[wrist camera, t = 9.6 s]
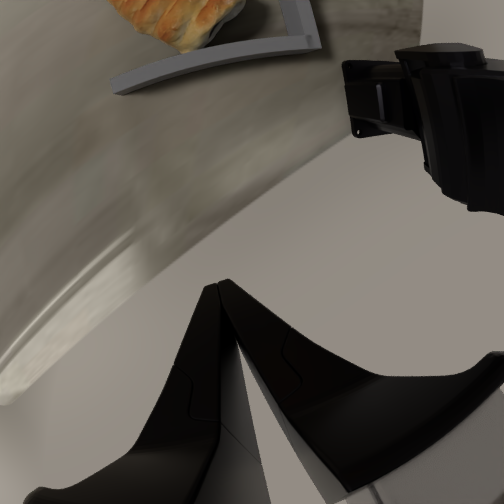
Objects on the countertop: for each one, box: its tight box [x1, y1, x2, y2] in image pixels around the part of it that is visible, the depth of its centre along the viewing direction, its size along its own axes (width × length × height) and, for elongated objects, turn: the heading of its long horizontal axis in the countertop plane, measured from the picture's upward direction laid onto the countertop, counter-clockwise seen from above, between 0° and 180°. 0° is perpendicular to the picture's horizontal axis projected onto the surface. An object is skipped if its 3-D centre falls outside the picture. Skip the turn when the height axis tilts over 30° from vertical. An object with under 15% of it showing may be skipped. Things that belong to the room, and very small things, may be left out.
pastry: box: [107, 0, 246, 54], centre depth 10 cm, size 9×7×4 cm
